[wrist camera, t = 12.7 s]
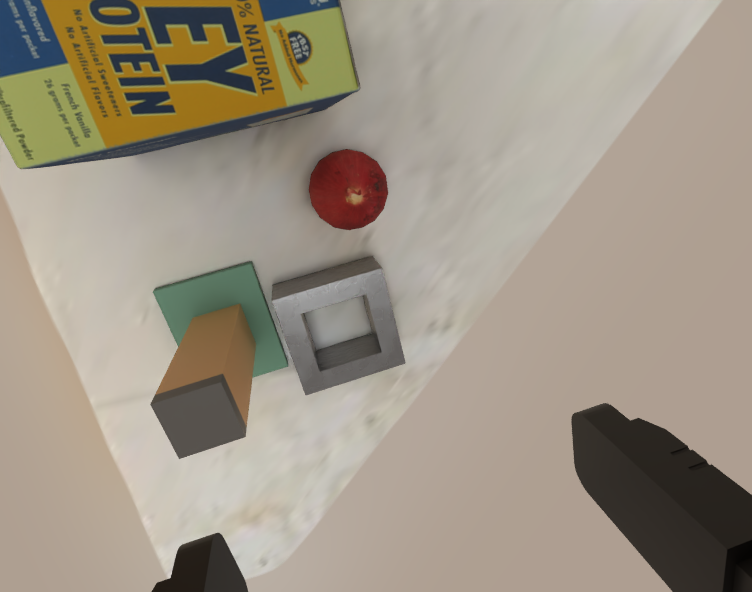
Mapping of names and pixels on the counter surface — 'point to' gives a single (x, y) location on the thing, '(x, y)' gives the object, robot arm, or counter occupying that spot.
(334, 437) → the counter surface
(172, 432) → the plug
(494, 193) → the counter surface
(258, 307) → the mat
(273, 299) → the gray square frame
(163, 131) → the protein box
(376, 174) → the red onion
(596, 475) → the robot arm
